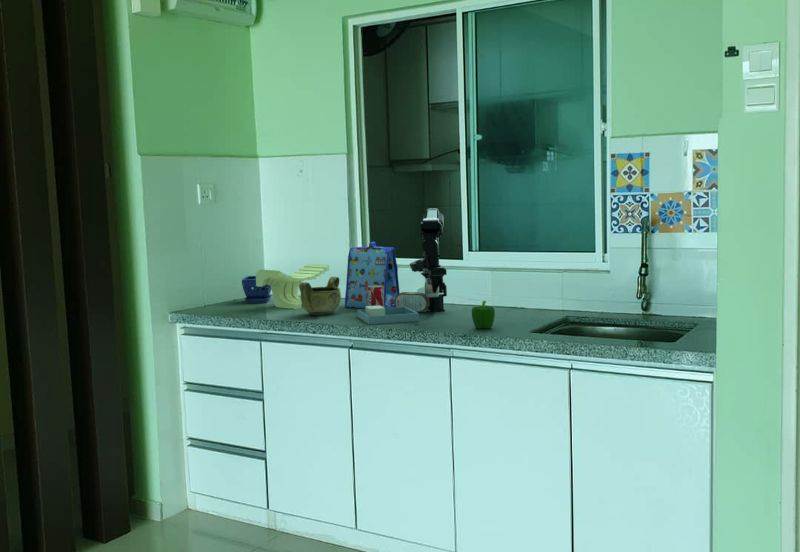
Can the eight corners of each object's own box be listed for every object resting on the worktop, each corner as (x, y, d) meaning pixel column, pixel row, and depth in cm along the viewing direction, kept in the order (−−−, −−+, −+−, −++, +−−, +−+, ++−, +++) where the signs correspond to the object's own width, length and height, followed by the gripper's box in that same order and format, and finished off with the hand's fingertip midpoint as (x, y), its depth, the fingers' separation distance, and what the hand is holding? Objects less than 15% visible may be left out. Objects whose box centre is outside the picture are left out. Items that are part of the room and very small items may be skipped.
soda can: (382, 316, 338) (381, 287, 337) (365, 316, 340) (364, 287, 339) (385, 313, 345) (385, 284, 344) (369, 313, 347) (368, 285, 345)
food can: (436, 295, 325) (436, 277, 324) (440, 296, 320) (440, 278, 319) (423, 295, 324) (423, 278, 323) (427, 297, 319) (427, 279, 318)
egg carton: (380, 317, 331) (379, 305, 330) (385, 320, 323) (384, 308, 322) (365, 318, 329) (365, 306, 329) (370, 321, 321) (369, 309, 321)
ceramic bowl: (323, 309, 361) (322, 275, 359) (353, 312, 351) (352, 277, 349) (288, 317, 343) (286, 281, 341) (319, 319, 333) (318, 282, 331)
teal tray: (405, 314, 340) (404, 306, 339) (418, 322, 320) (418, 313, 320) (357, 318, 334) (357, 309, 334) (368, 325, 315) (368, 316, 315)
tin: (430, 312, 346) (429, 292, 345) (427, 313, 343) (427, 293, 342) (396, 311, 352) (396, 291, 351) (393, 312, 349) (393, 292, 348)
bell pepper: (486, 330, 297) (486, 303, 296) (468, 328, 302) (467, 301, 301) (499, 327, 303) (499, 300, 302) (481, 325, 309) (480, 299, 308)
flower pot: (270, 303, 387) (269, 278, 385) (242, 304, 387) (241, 278, 385) (274, 299, 400) (273, 275, 399) (246, 300, 400) (245, 275, 398)
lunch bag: (401, 306, 366) (399, 241, 362) (384, 310, 354) (382, 243, 351) (361, 303, 377) (359, 240, 374) (343, 307, 366) (341, 242, 363)
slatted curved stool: (306, 300, 392) (305, 263, 390) (330, 303, 382) (328, 264, 380) (257, 308, 370) (255, 269, 368) (280, 311, 359) (279, 270, 357)
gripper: (404, 251, 327) (405, 290, 328) (418, 254, 309) (419, 295, 311) (431, 249, 330) (432, 288, 331) (446, 253, 312) (447, 294, 313)
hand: (432, 291), depth 322 cm, fingers closed on food can, 5 cm apart
